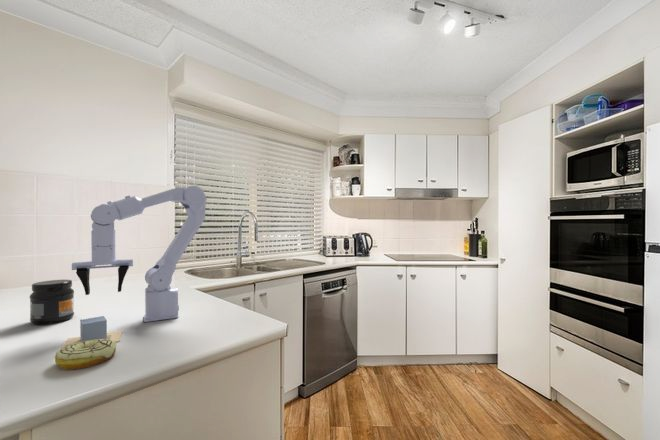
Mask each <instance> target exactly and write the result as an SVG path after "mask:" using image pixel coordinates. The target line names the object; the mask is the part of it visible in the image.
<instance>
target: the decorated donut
mask: <svg viewBox="0 0 660 440" xmlns="http://www.w3.org/2000/svg"><path fill="white" fill-rule="evenodd" d="M116 350H117V342H114V341H113V340H111V339H94V340H87V341H81V342H77V343H74V344H71V345H68V346H65V347H64V348H62V349H61V348H60V349H58V350H56V351H57V352H56V353H55V356H54V358H55V361H54V363H55V364H56V365H57V366H58V367H59V368H61V369H62V370H68V371H69V370H78V369H86V368H89V367H94V366H96V365H98V364H101V363H103V362H105V361H108V360H110V359H111V358H112V357H114V355H115V353H116Z"/></svg>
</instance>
